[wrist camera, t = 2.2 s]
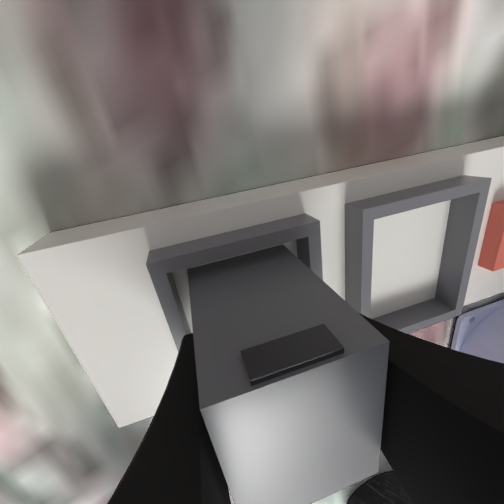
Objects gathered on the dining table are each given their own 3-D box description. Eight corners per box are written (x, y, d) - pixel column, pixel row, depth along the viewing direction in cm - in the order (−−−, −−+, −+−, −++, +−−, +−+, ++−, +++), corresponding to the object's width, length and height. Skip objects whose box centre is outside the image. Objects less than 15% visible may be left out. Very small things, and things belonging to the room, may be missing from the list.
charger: (282, 241, 11) (389, 335, 5) (293, 336, 13) (378, 472, 7) (186, 265, 10) (198, 404, 5) (214, 362, 12) (245, 534, 7)
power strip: (505, 135, 15) (599, 131, 12) (474, 270, 19) (539, 297, 15) (50, 232, 11) (-8, 271, 7) (127, 384, 14) (113, 455, 11)
